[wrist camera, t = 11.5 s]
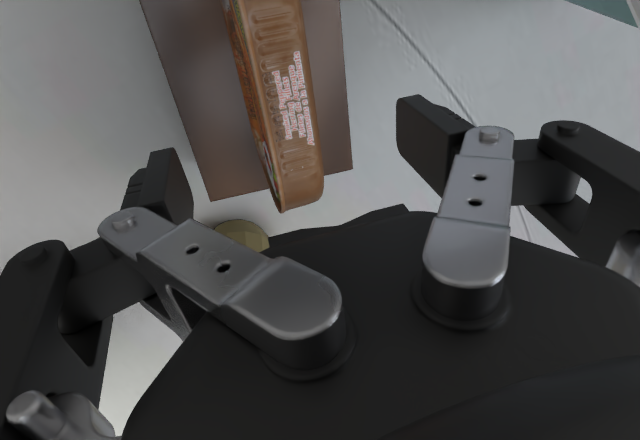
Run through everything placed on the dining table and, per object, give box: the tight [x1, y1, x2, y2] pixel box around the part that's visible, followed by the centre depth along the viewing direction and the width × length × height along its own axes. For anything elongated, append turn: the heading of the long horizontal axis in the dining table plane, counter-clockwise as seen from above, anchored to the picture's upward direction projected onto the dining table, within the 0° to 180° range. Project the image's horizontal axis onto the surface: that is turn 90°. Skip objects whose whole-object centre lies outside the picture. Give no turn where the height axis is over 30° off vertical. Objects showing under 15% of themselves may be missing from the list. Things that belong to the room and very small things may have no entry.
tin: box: [220, 0, 324, 213], centre depth 20 cm, size 15×3×8 cm, turn 6°
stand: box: [139, 0, 353, 202], centre depth 27 cm, size 11×18×7 cm, turn 7°
